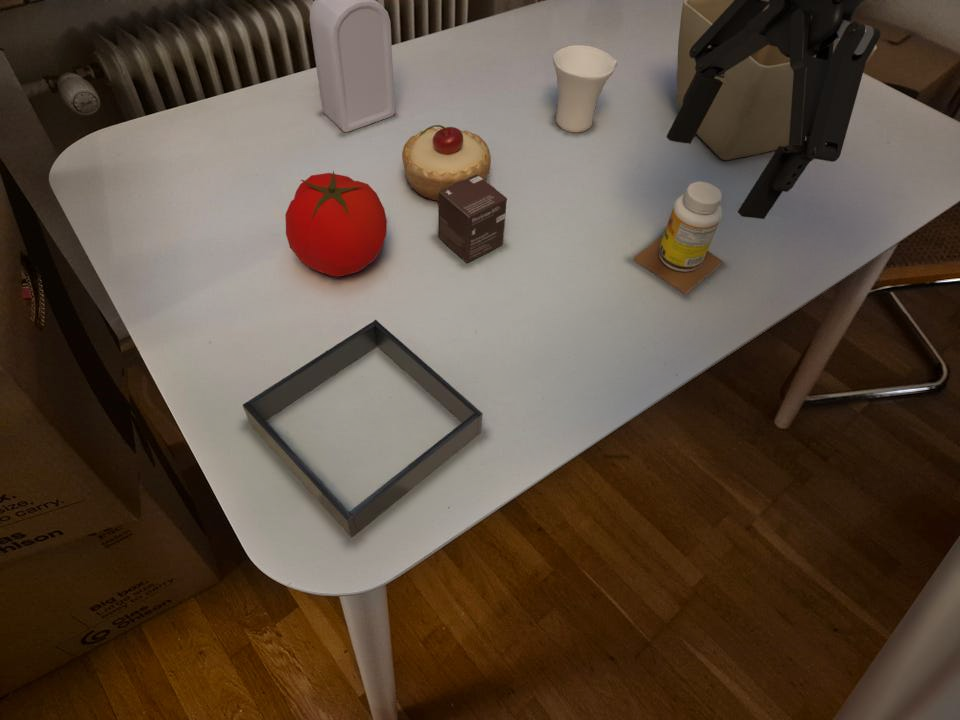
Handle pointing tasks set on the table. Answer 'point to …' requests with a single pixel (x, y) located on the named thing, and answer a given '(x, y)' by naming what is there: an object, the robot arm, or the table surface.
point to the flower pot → (738, 90)
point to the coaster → (675, 278)
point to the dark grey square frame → (329, 366)
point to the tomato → (335, 224)
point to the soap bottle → (353, 61)
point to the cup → (580, 84)
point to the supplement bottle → (691, 227)
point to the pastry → (443, 159)
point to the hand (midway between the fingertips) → (711, 175)
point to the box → (471, 217)
